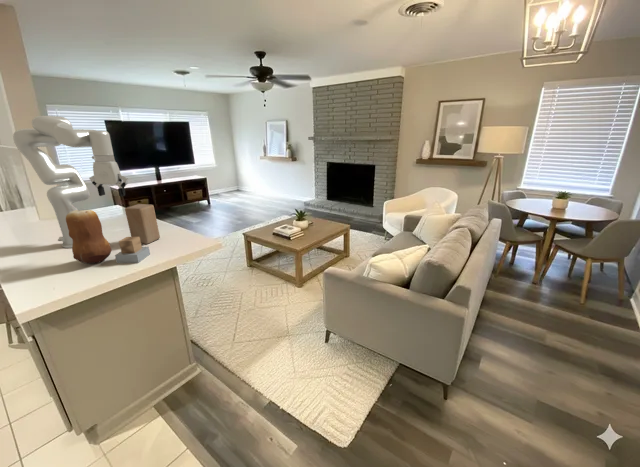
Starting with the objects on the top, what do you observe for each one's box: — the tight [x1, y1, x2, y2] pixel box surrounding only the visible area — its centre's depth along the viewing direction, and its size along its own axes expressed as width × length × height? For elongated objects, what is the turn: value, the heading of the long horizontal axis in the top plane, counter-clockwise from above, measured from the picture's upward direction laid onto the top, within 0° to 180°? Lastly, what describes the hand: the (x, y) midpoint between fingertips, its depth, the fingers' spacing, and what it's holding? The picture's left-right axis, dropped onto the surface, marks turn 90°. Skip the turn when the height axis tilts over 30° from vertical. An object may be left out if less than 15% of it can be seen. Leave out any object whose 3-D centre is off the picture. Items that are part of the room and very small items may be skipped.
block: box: [124, 203, 161, 245], centre depth 157 cm, size 10×10×20 cm
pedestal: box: [114, 246, 151, 264], centre depth 137 cm, size 10×10×4 cm
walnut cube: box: [118, 236, 143, 253], centre depth 135 cm, size 6×6×6 cm
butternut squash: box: [66, 209, 112, 264], centre depth 130 cm, size 14×13×25 cm
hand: (112, 195), depth 138 cm, fingers open, 9 cm apart
